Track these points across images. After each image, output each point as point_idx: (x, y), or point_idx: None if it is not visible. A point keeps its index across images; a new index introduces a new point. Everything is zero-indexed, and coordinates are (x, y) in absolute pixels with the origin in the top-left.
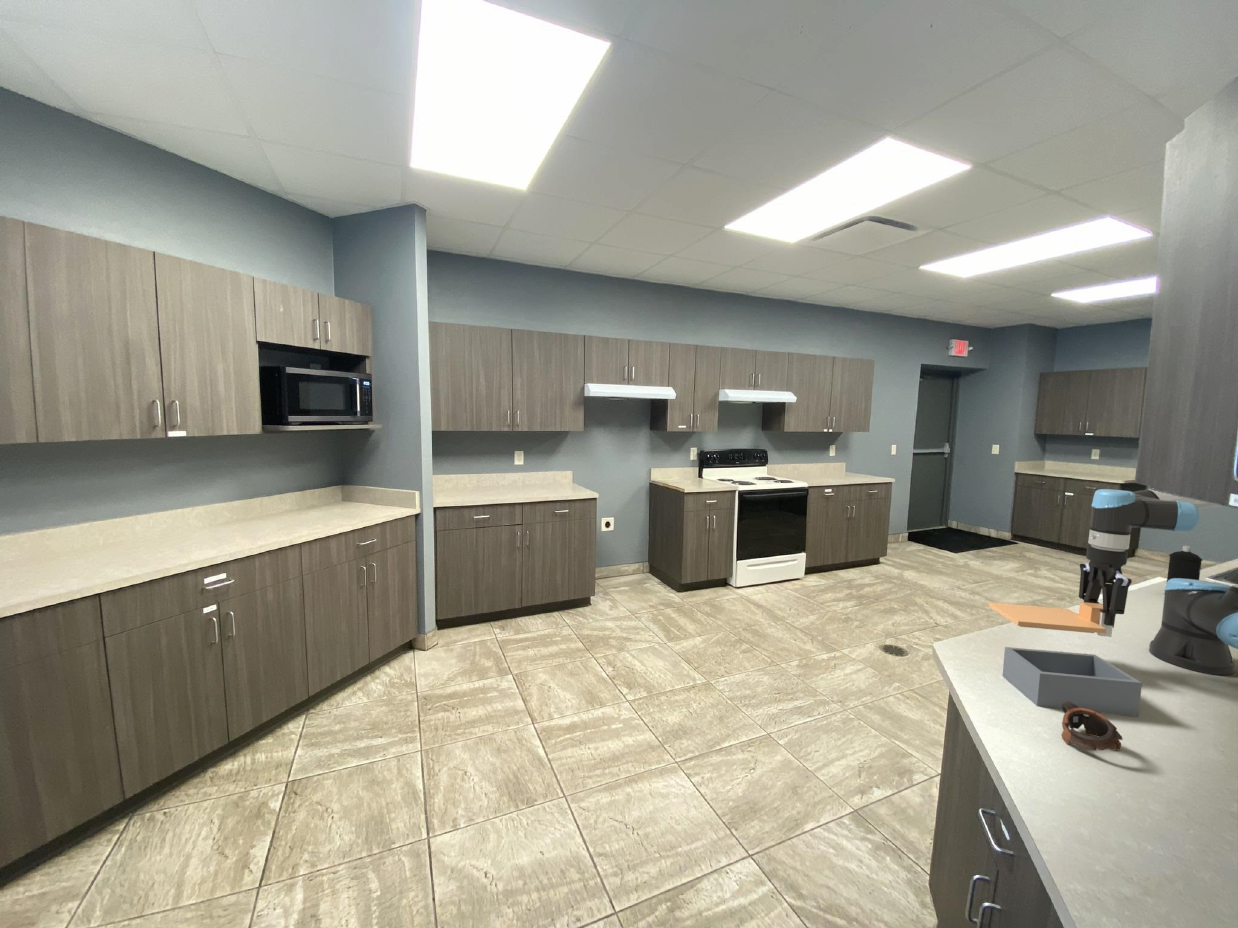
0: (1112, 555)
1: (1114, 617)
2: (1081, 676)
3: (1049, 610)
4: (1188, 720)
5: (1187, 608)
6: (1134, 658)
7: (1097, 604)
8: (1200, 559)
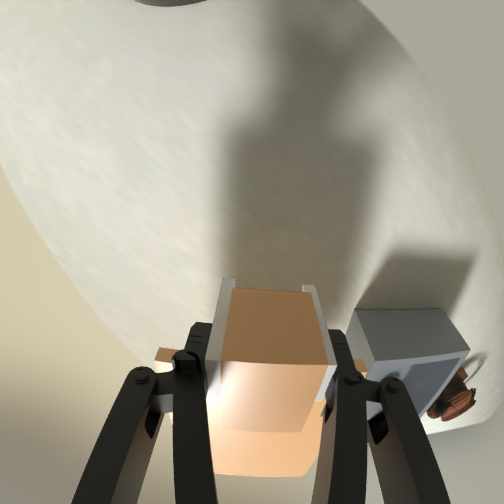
0: None
1: (352, 362)
2: (424, 410)
3: None
4: (465, 236)
5: None
6: (189, 67)
7: (245, 395)
8: None
